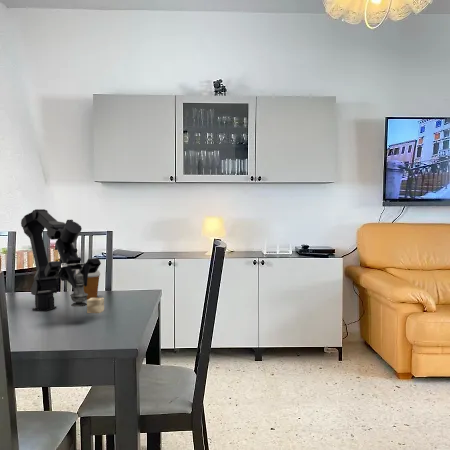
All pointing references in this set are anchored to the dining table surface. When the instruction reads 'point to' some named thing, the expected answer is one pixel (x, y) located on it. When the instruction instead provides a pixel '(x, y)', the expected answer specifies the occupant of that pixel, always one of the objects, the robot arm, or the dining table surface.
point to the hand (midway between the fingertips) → (80, 286)
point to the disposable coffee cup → (92, 285)
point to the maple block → (95, 305)
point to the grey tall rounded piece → (79, 291)
